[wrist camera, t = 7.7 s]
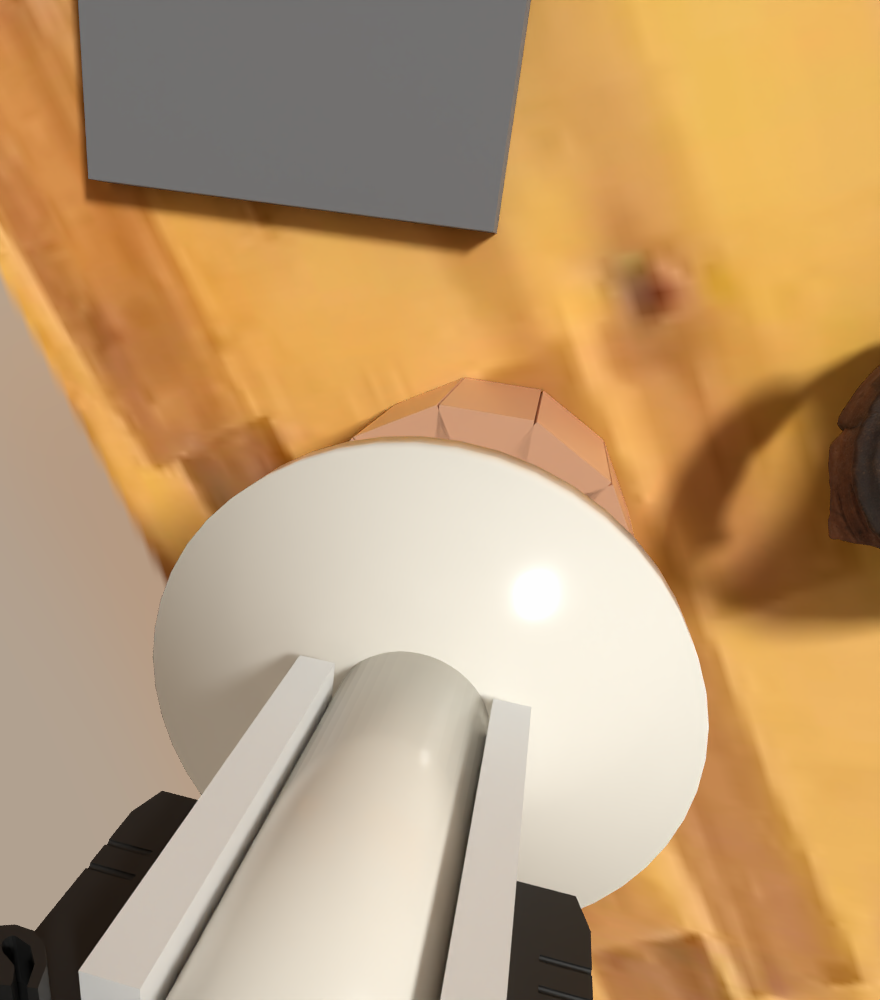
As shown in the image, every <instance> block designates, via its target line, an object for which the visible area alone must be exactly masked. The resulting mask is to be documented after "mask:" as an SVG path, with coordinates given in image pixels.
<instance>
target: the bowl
mask: <svg viewBox="0 0 880 1000" xmlns="http://www.w3.org/2000/svg"><path fill="white" fill-rule="evenodd" d="M383 436H424V437H432V438H440V439H448V440H457V441H463V442H467V443H470V444H474V445H478V446H482V447H486V448H490V449H494V450H498V451H501V452H504V453H506V454H509V455H511V456H514V457H516V458H519V459H521V460H524V461H526V462H529V463H531V464H534V465H536V466H538V467H540V468H542V469H544V470H546V471H548V472H549V473H551V474H553V475H555V476H557V477H558V478H560V479H562V480H564V481H566V482H567V483H569V484H571V485H573V486H574V487H576V488H577V489H578V490H580V491H581V492H582V493H584V494H585V495H587V496H588V497H589V498H591V499H592V500H593V501H595V502H596V503H597V504H599V505H600V506H602V507H603V508H604V509H606V510H607V511H608V512H609V513H610V514H611V515H612V516H613V517H614V518H615V519H616V520H617V521H618V522H619V523H620V524H621V525H622V526H623V527H624V528H625V529H626V530H627V531H628V532H630V533H631V534H632V535H633V536H634V533H633V529H632V525H631V521H630V517H629V513H628V509H627V506H626V503H625V500H624V497H623V494H622V492H621V489H620V486H619V483H618V480H617V477H616V474H615V471H614V468H613V466H612V463H611V460H610V457H609V454H608V451H607V448H606V445H605V442H604V441H603V439H602V438H601V437H599V436H598V435H597V434H596V433H594V432H593V431H592V430H591V429H590V428H588V427H587V426H586V425H585V424H583V423H582V422H581V421H580V420H579V419H577V418H576V417H575V416H574V415H572V414H571V413H570V412H569V411H568V410H566V409H565V408H564V407H563V406H562V405H560V404H559V403H558V402H557V401H555V400H554V399H553V398H552V397H551V396H549V395H548V394H547V393H546V392H544V391H543V392H542V393H541V390H540V389H534V388H527V387H521V386H515V385H509V384H503V383H496V382H490V381H484V380H478V379H472V378H465V379H463V378H461V379H459V380H456V381H454V382H451V383H448V384H446V385H443V386H441V387H438V388H436V389H433V390H431V391H428V392H426V393H423V394H420V395H418V396H415V397H413V398H410V399H408V400H405V401H403V402H400V403H397V404H395V405H394V406H393V407H391V408H390V409H389V410H387V411H386V412H385V413H384V414H382V415H381V416H380V417H378V418H377V419H376V420H375V421H373V422H372V423H371V424H369V425H368V426H367V427H366V428H364V429H363V430H362V431H360V432H359V433H358V434H356V435H355V436H354V437H353V438H351V440H350V441H355V440H362V439H369V438H376V437H383ZM634 538H635V537H634Z"/></svg>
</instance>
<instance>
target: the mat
mask: <svg viewBox="0 0 880 1000" xmlns="http://www.w3.org/2000/svg"><path fill="white" fill-rule="evenodd" d="M530 2H531V0H78V7H79V25H80V42H81V59H82V77H83V94H84V111H85V129H86V146H87V163H88V179H92V180H98V181H103V182H109V183H116V184H124V185H131V186H139V187H147V188H154V189H162V190H169V191H177V192H185V193H192V194H200V195H207V196H215V197H223V198H230V199H238V200H245V201H253V202H261V203H268V204H276V205H283V206H291V207H299V208H306V209H314V210H321V211H329V212H337V213H344V214H352V215H359V216H367V217H375V218H382V219H390V220H397V221H405V222H413V223H420V224H428V225H435V226H443V227H451V228H458V229H466V230H473V231H481V232H489V233H496V234H497V227H498V220H499V213H500V207H501V200H502V193H503V186H504V179H505V173H506V166H507V159H508V152H509V145H510V139H511V132H512V125H513V118H514V111H515V104H516V98H517V91H518V84H519V77H520V70H521V64H522V57H523V50H524V43H525V36H526V30H527V23H528V16H529V9H530Z"/></svg>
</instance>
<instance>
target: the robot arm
mask: <svg viewBox="0 0 880 1000" xmlns="http://www.w3.org/2000/svg"><path fill="white" fill-rule="evenodd" d="M334 668H335V663H333V662H328V661H324V660H319V659H315V658H310V657H306V656H301V655H300V656H299V657H298V659H297V660H296V661H295V663H294V664H293V666H292V667H291V669H290V670H289V671H288V673H287V674H286V676H285V677H284V679H283V680H282V681H281V683H280V684H279V686H278V687H277V689H276V690H275V691H274V693H273V694H272V696H271V697H270V699H269V700H268V701H267V703H266V704H265V706H264V707H263V708H262V710H261V711H260V713H259V714H258V716H257V717H256V718H255V720H254V721H253V723H252V724H251V726H250V727H249V728H248V730H247V731H246V733H245V734H244V736H243V737H242V738H241V740H240V741H239V743H238V744H237V746H236V747H235V748H234V750H233V751H232V753H231V754H230V755H229V757H228V758H227V760H226V761H225V763H224V764H223V765H222V767H221V768H220V770H219V771H218V773H217V774H216V775H215V777H214V778H213V780H212V781H211V783H210V784H209V785H208V787H207V788H206V790H205V791H204V793H203V794H202V795H201V797H200V798H199V800H196V799H192V798H187V797H184V796H180V795H176V794H172V793H169V792H164V791H161V792H160V793H158V794H157V795H155V796H154V797H152V798H151V799H149V800H148V801H147V802H145V803H144V804H142V805H141V806H139V807H138V808H136V809H135V810H133V811H132V812H131V813H130V814H129V816H128V817H127V818H126V819H125V821H124V822H123V823H122V824H121V825H120V827H119V828H118V829H117V830H116V832H115V833H114V834H113V835H112V837H111V838H110V839H109V842H108V844H107V845H104V846H103V848H102V849H101V850H100V851H99V853H98V854H97V855H96V856H95V857H94V859H93V860H92V861H91V863H90V866H89V868H88V869H87V868H86V869H85V870H84V871H83V872H82V874H81V875H80V876H79V877H78V878H77V880H76V881H75V882H74V883H73V885H72V886H71V887H70V888H69V890H68V891H67V892H66V893H65V895H64V896H63V897H62V898H61V900H60V901H59V902H58V903H57V904H56V906H55V907H54V908H53V909H52V911H51V912H50V913H49V914H48V915H47V917H46V918H45V919H44V920H43V922H42V923H41V924H40V925H39V927H38V928H37V929H36V930H35V931H33V930H29V929H26V928H24V927H20V926H18V925H3V926H0V1000H165V999H166V998H167V996H168V994H169V992H170V990H171V989H172V987H173V985H174V983H175V981H176V979H177V978H178V976H179V974H180V972H181V970H182V969H183V967H184V965H185V963H186V961H187V960H188V958H189V956H190V954H191V952H192V951H193V949H194V947H195V945H196V943H197V942H198V940H199V938H200V936H201V934H202V933H203V931H204V929H205V927H206V925H207V924H208V922H209V920H210V918H211V916H212V915H213V913H214V911H215V909H216V907H217V906H218V904H219V902H220V900H221V898H222V897H223V895H224V893H225V891H226V889H227V888H228V886H229V884H230V882H231V880H232V879H233V877H234V875H235V873H236V871H237V869H238V868H239V866H240V864H241V862H242V860H243V859H244V857H245V855H246V853H247V851H248V850H249V848H250V846H251V844H252V842H253V841H254V839H255V837H256V835H257V833H258V832H259V830H260V828H261V826H262V824H263V823H264V821H265V819H266V817H267V815H268V814H269V812H270V810H271V808H272V806H273V805H274V803H275V801H276V799H277V797H278V796H279V794H280V792H281V790H282V788H283V787H284V785H285V783H286V781H287V779H288V778H289V776H290V774H291V772H292V770H293V769H294V767H295V765H296V763H297V761H298V759H299V758H300V756H301V754H302V752H303V750H304V749H305V747H306V745H307V743H308V741H309V740H310V738H311V736H312V734H313V732H314V731H315V729H316V727H317V725H318V723H319V722H320V720H321V718H322V716H323V714H324V713H325V711H326V709H327V707H328V705H329V704H330V702H331V700H332V692H333V680H334ZM530 717H531V707H529V706H525V705H520V704H516V703H511V702H507V701H502V700H498V699H493V703H492V709H491V714H490V719H489V725H488V730H487V735H486V741H485V746H484V752H483V758H482V763H481V769H480V775H479V780H478V786H477V792H476V797H475V803H474V808H473V814H472V820H471V825H470V831H469V837H468V842H467V848H466V854H465V859H464V865H463V871H462V876H461V882H460V888H459V893H458V899H457V905H456V910H455V916H454V922H453V927H452V933H451V938H450V944H449V950H448V955H447V961H446V967H445V972H444V978H443V984H442V989H441V995H440V1000H593V990H592V976H591V970H592V961H591V931H590V929H589V926H588V924H587V922H586V919H585V917H584V914H583V912H582V910H581V907H580V905H579V902H578V900H577V898H576V896H573V895H570V894H566V893H562V892H558V891H554V890H550V889H546V888H543V887H539V886H535V885H531V884H527V883H523V882H519V881H517V870H518V858H519V846H520V834H521V823H522V811H523V799H524V787H525V775H526V764H527V752H528V740H529V728H530Z"/></svg>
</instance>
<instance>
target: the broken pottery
mask: <svg viewBox="0 0 880 1000" xmlns="http://www.w3.org/2000/svg"><path fill="white" fill-rule="evenodd" d="M837 424H838V426H839V427H840V429H841V430H842V431H843V432H842V433H841V434H840V435H839V436H838V437H837V438H836V439H835V440H834V441H833V442H832V444H831V446H830V450H829V463H828V466H829V483H830V489H831V490H830V516H829V519H828V528H829V537H830V538H831V539H840V540H843V541H847V542H851V543H856V544H863V545H870V546H874V547H877V548H880V365H879V366H878V367H877V368H876V369H875V370H874V371H873V372H872V373H871V374H870V375H869V376H868V377H867V378H866V379H865V381H864V382H863V383H862V384H861V385H860V386H859V388H858V389H857V390H856V392H855V393H854V394H853V396H852V398H851V399H850V401H849V402H848V404H847V405H846V407H845V408H844V409H843V411H842V413H841V415H840V416H839V419H838V422H837Z"/></svg>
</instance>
